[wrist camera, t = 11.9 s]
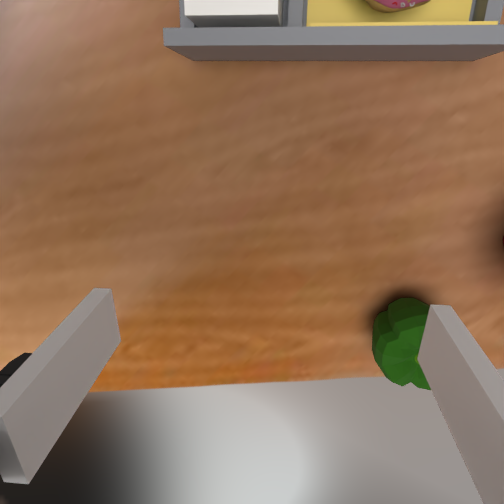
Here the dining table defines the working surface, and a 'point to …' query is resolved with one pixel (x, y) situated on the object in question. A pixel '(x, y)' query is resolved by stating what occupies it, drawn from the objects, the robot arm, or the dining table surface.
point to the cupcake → (394, 5)
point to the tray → (351, 33)
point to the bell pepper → (401, 341)
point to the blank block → (235, 13)
